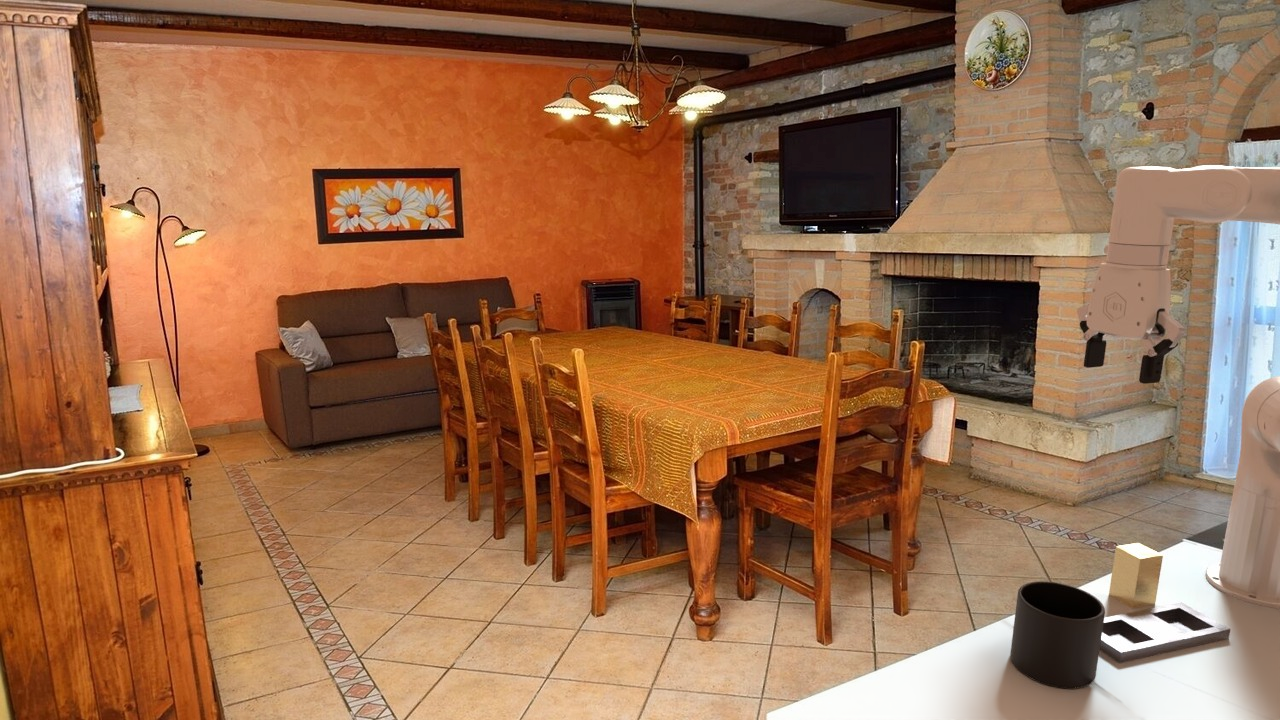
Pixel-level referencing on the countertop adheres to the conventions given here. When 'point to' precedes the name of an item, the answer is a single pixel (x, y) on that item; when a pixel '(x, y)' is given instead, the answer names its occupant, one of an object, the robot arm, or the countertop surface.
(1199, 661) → the countertop surface
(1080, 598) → the mug
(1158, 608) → the grey slotted board
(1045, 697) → the countertop surface
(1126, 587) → the wooden block
